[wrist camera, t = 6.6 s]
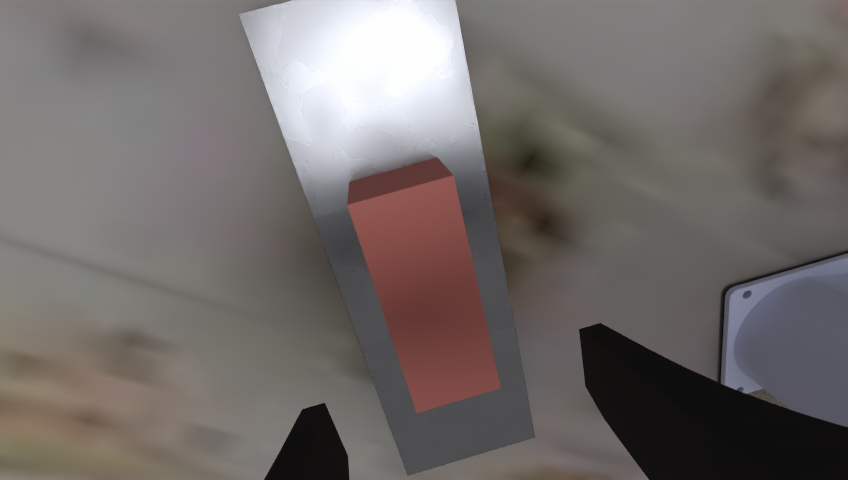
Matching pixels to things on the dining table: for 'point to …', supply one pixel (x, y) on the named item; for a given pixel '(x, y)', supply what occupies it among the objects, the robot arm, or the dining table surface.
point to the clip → (425, 281)
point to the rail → (383, 151)
